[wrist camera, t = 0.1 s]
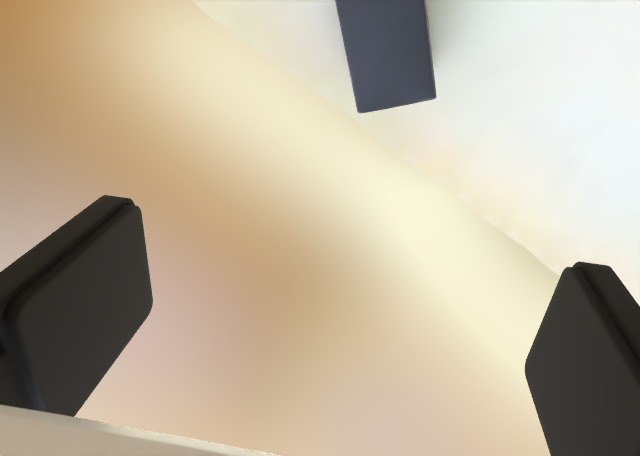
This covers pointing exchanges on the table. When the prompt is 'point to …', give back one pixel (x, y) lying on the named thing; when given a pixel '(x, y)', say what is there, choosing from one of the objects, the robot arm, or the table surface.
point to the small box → (387, 52)
